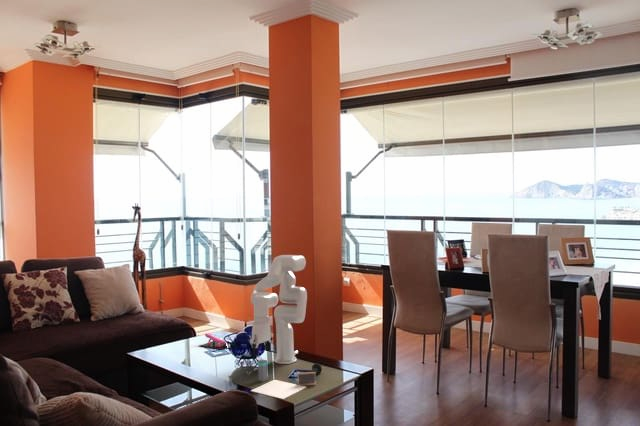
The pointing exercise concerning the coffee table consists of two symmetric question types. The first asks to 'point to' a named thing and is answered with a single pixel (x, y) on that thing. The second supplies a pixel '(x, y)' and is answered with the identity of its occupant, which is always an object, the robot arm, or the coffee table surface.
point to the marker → (262, 370)
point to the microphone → (316, 368)
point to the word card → (306, 378)
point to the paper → (278, 389)
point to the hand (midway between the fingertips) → (262, 353)
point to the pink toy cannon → (214, 343)
